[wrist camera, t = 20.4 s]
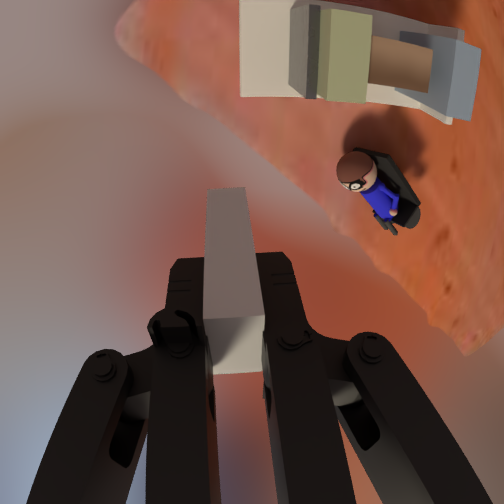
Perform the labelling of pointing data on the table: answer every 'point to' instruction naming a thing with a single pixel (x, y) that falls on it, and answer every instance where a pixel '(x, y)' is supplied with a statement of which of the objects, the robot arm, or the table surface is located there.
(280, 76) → the white book rack
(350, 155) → the character figurine
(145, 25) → the table surface
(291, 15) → the bookend
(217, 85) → the table surface
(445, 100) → the book
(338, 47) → the book
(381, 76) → the book
